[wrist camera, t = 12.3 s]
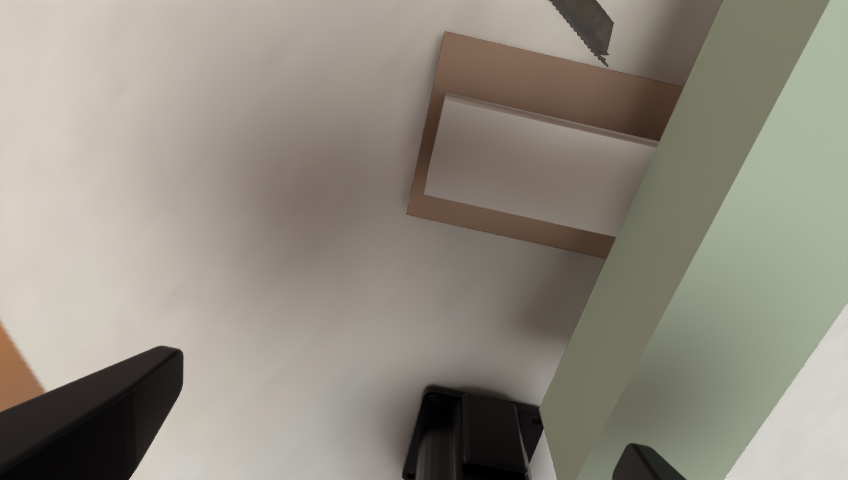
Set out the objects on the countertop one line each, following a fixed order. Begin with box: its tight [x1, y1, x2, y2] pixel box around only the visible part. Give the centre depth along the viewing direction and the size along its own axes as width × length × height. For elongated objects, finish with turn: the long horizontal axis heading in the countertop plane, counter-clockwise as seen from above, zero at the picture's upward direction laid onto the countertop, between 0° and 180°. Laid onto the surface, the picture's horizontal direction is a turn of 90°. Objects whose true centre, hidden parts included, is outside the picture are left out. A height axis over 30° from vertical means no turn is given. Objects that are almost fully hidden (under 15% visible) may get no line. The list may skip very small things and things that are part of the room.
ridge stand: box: [406, 31, 684, 259], centre depth 17 cm, size 7×18×5 cm, turn 78°
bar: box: [539, 0, 848, 480], centre depth 12 cm, size 18×4×4 cm, turn 166°
